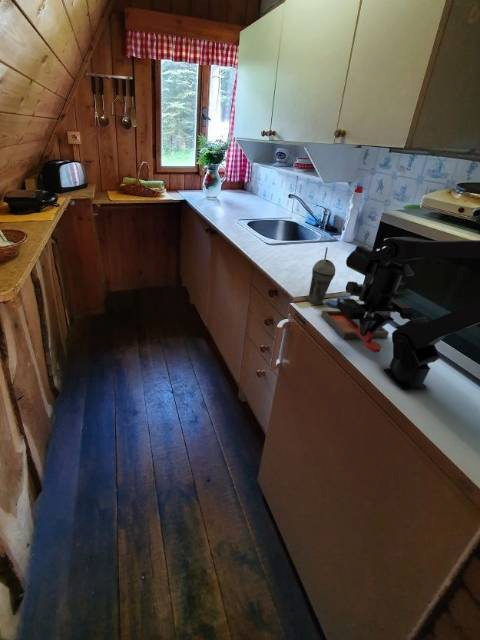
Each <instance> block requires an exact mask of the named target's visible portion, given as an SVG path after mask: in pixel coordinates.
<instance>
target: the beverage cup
mask: <svg viewBox="0 0 480 640" xmlns="http://www.w3.org/2000/svg"><path fill="white" fill-rule="evenodd" d="M328 249H329V248H328V246H327V247H325V251H324V252H325V253H324V257H323V259H320V260H318V261H316V262H315V263H314V264H313V267H312V272H311V281H310V286H309V292H308V302H309V303H311V304H313V305H322V304H323V301H324V299H325V297H326V295H327V292H328V290H329V287H330V285H331V283H332V280H333V279H334V277H335V275H336V266H335V264H334V263H333V262H332V261H331V260H329V259H327V254H328Z"/></svg>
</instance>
